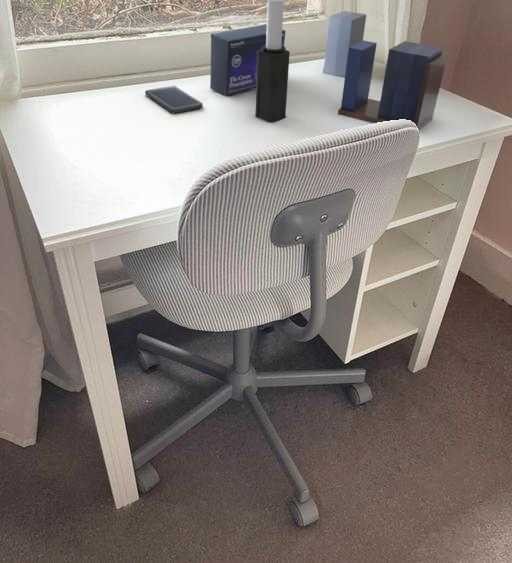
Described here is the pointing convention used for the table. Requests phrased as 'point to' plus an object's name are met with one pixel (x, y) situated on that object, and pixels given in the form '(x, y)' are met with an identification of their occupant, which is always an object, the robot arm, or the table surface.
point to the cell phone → (173, 99)
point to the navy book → (358, 74)
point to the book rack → (406, 86)
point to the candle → (272, 68)
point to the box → (236, 58)
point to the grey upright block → (342, 40)
